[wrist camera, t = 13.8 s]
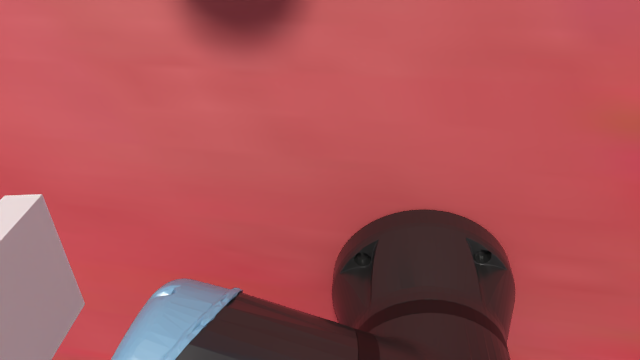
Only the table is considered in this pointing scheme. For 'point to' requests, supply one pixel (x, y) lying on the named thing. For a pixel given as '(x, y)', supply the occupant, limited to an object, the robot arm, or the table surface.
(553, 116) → the table surface
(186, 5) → the table surface
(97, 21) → the table surface
